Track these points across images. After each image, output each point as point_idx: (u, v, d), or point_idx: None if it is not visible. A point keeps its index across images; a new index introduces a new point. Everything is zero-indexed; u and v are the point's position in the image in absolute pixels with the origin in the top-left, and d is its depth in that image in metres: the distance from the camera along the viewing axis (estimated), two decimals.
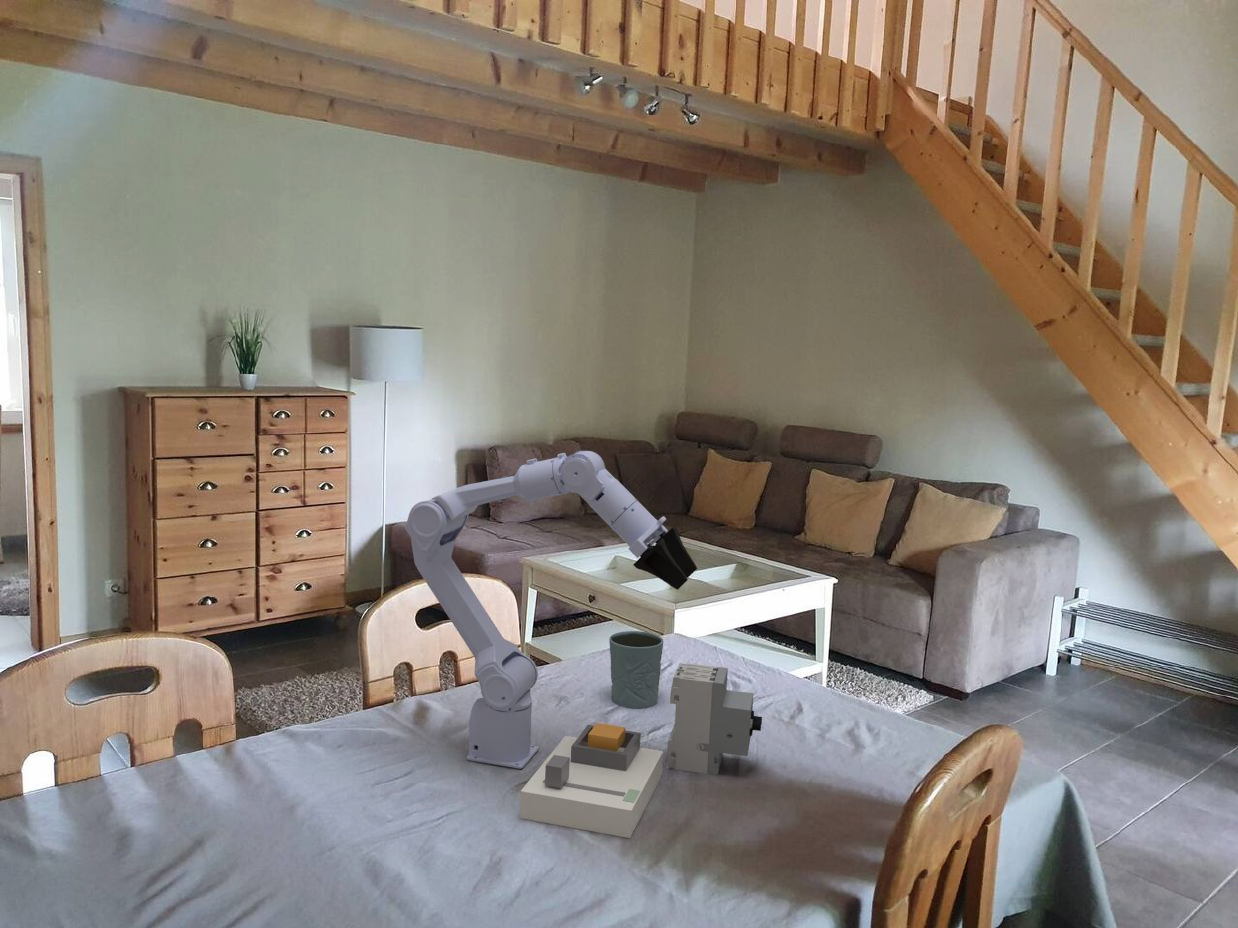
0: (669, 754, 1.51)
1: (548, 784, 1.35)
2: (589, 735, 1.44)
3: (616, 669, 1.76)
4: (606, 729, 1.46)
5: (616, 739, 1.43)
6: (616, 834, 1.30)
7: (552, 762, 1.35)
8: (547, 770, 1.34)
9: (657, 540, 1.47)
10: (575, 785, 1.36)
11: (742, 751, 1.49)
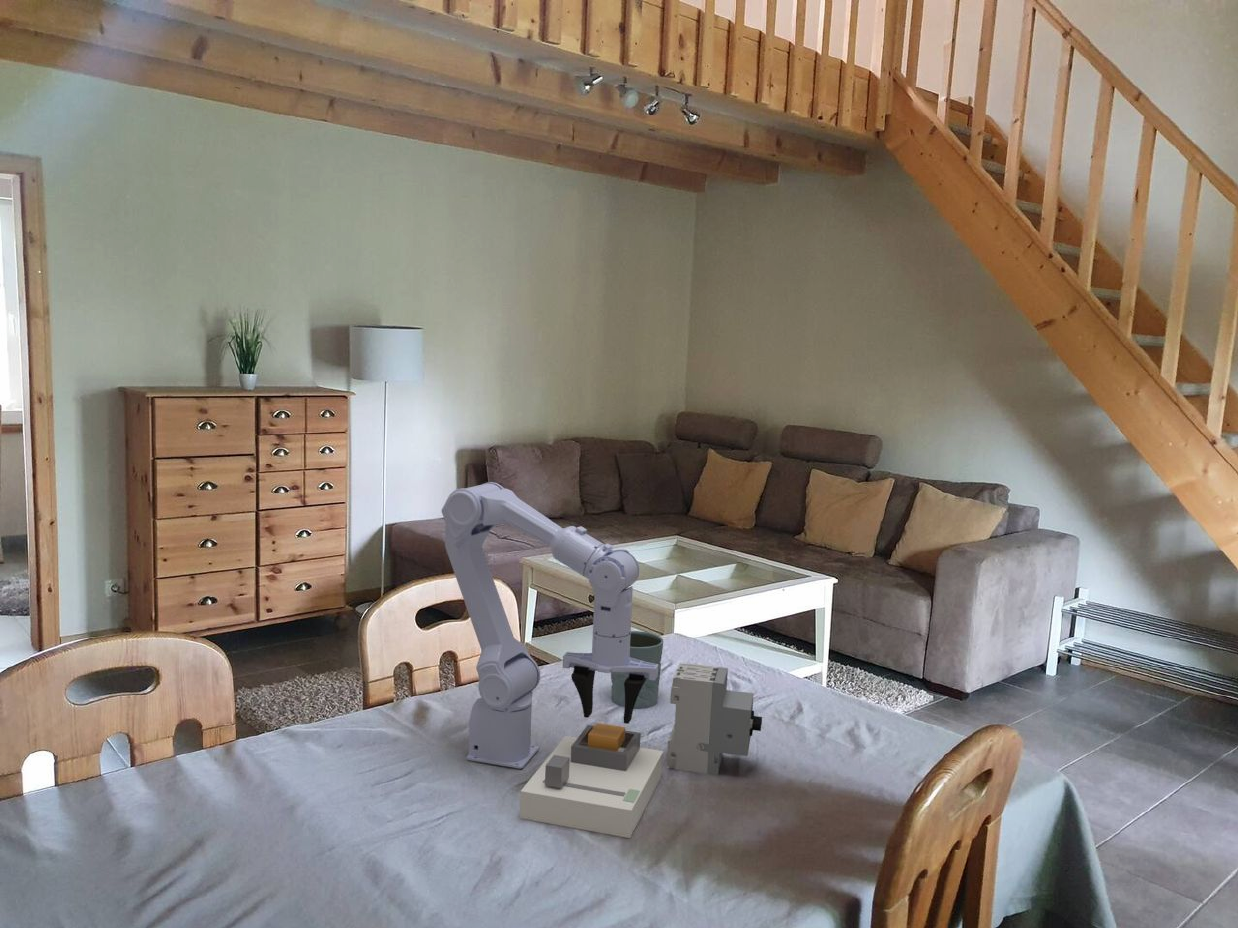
0: (669, 754, 1.51)
1: (548, 784, 1.35)
2: (589, 735, 1.44)
3: None
4: (606, 729, 1.46)
5: (616, 739, 1.43)
6: (616, 834, 1.30)
7: (552, 762, 1.35)
8: (547, 770, 1.34)
9: None
10: (575, 785, 1.36)
11: (742, 751, 1.49)
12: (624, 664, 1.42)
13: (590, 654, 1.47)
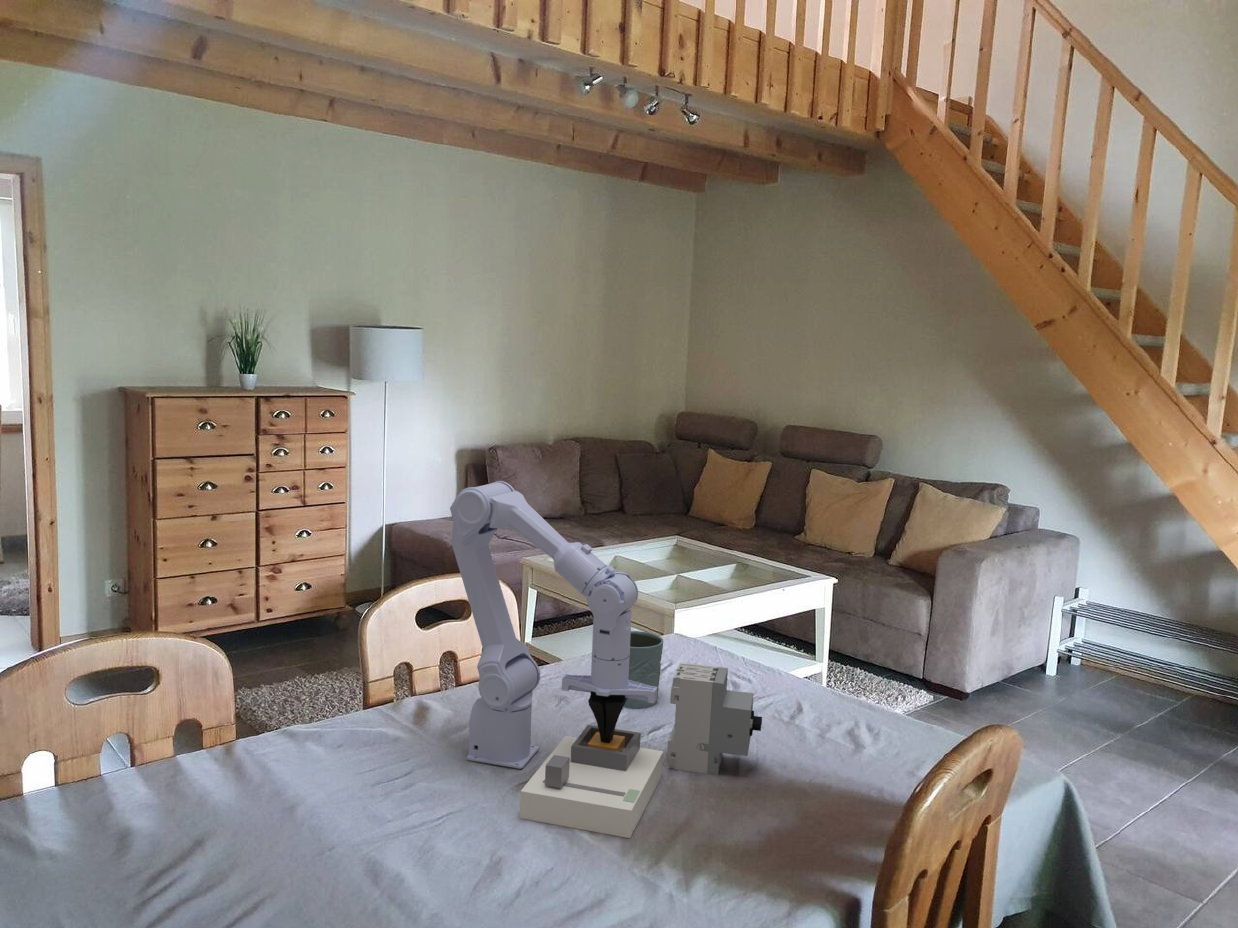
0: (669, 754, 1.51)
1: (548, 784, 1.35)
2: (589, 745, 1.44)
3: None
4: None
5: (616, 749, 1.43)
6: (616, 834, 1.30)
7: (552, 762, 1.35)
8: (547, 770, 1.34)
9: None
10: (575, 785, 1.36)
11: (742, 751, 1.49)
12: (623, 687, 1.43)
13: (589, 676, 1.47)
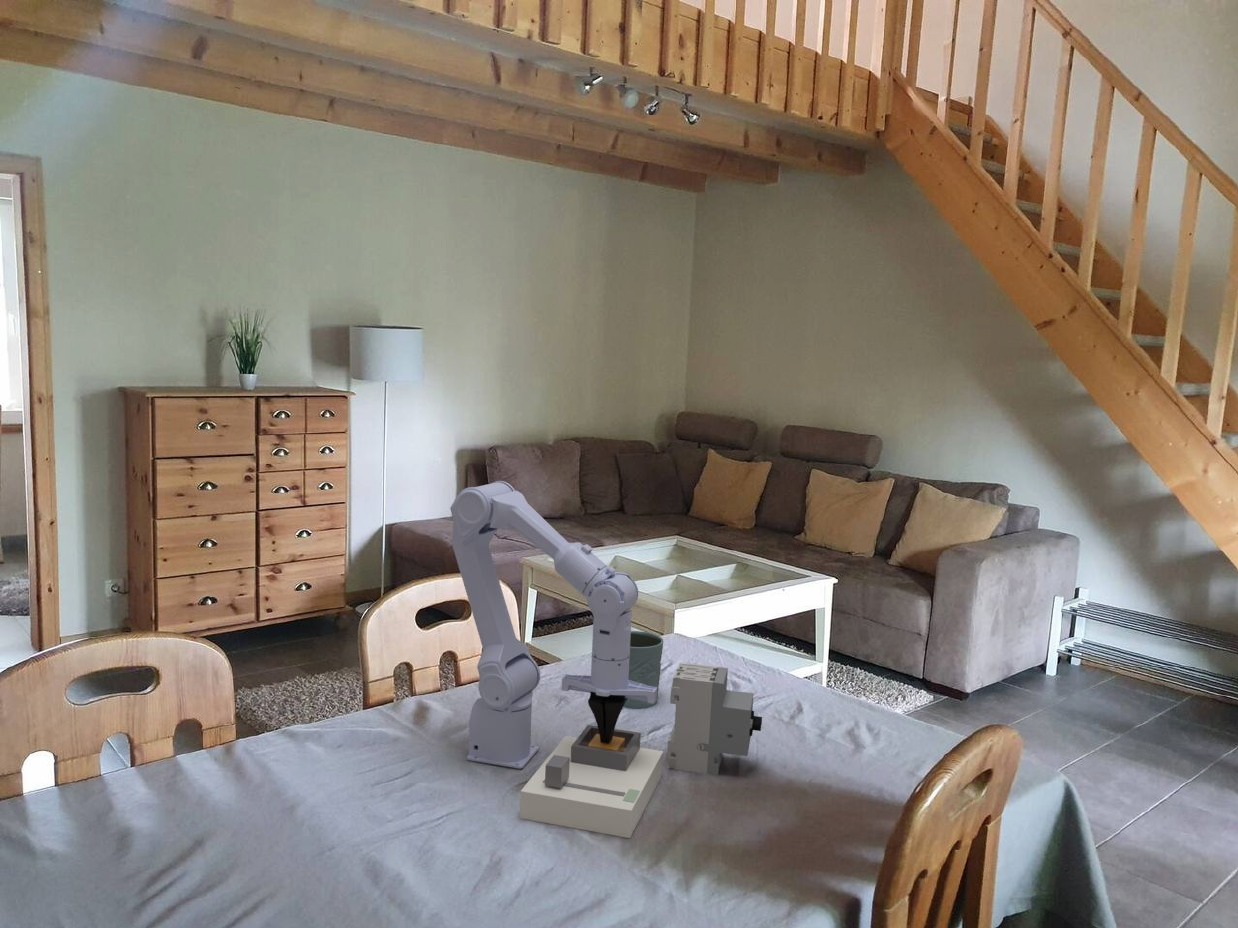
0: (669, 754, 1.51)
1: (548, 784, 1.35)
2: (588, 746, 1.44)
3: None
4: None
5: (615, 750, 1.43)
6: (616, 834, 1.30)
7: (552, 762, 1.35)
8: (547, 770, 1.34)
9: None
10: (575, 785, 1.36)
11: (742, 751, 1.49)
12: (623, 687, 1.43)
13: (589, 676, 1.47)
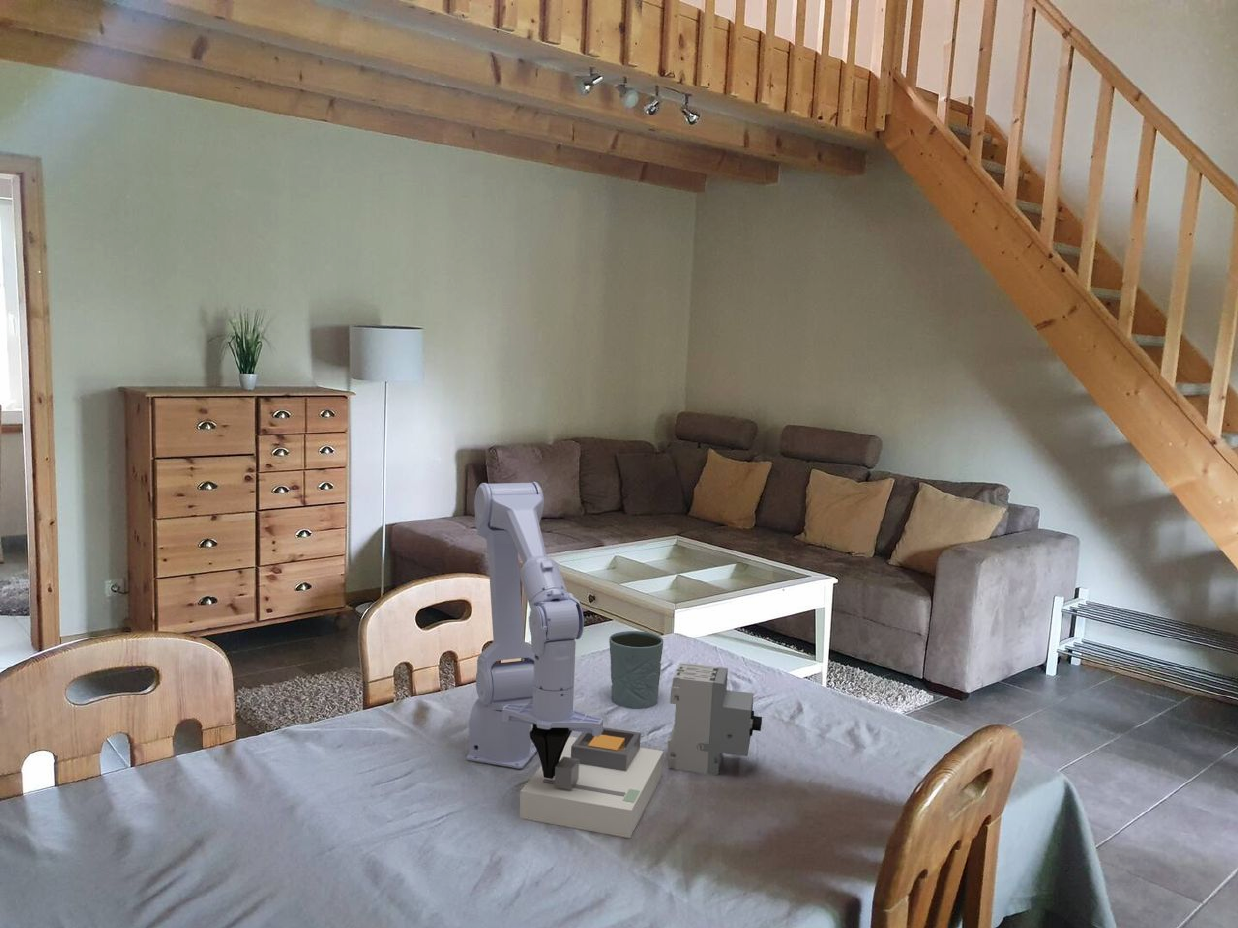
0: (669, 754, 1.51)
1: (558, 786, 1.34)
2: (588, 746, 1.44)
3: (616, 669, 1.76)
4: (606, 740, 1.47)
5: (615, 750, 1.43)
6: (616, 834, 1.30)
7: (562, 763, 1.35)
8: (557, 772, 1.34)
9: None
10: (575, 785, 1.36)
11: (742, 751, 1.49)
12: (566, 719, 1.33)
13: (532, 706, 1.38)
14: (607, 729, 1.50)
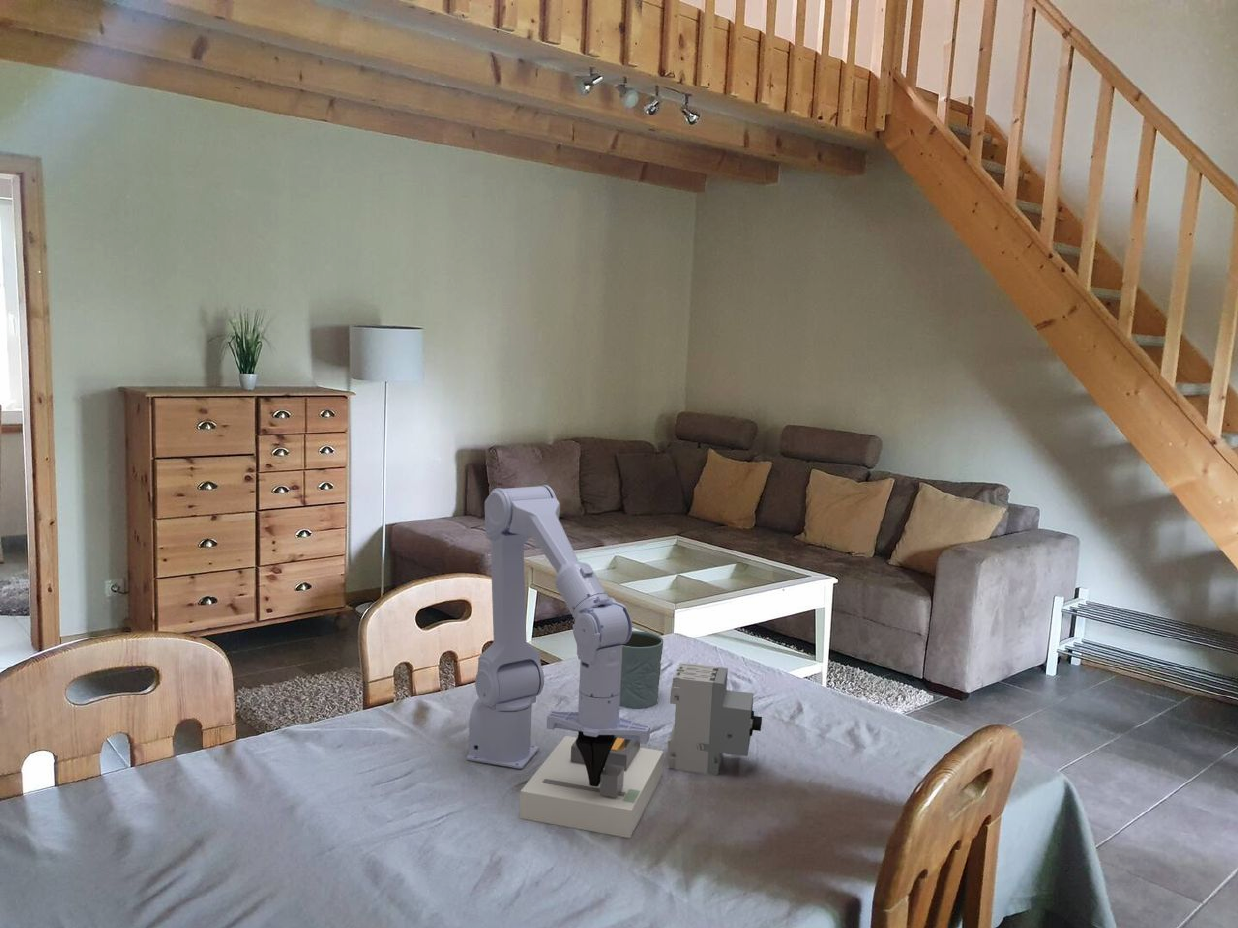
0: (669, 754, 1.51)
1: (603, 793, 1.33)
2: None
3: None
4: None
5: (615, 750, 1.43)
6: (616, 834, 1.30)
7: (607, 771, 1.33)
8: (602, 779, 1.32)
9: None
10: (575, 785, 1.36)
11: (742, 751, 1.49)
12: (613, 726, 1.31)
13: (576, 713, 1.36)
14: None
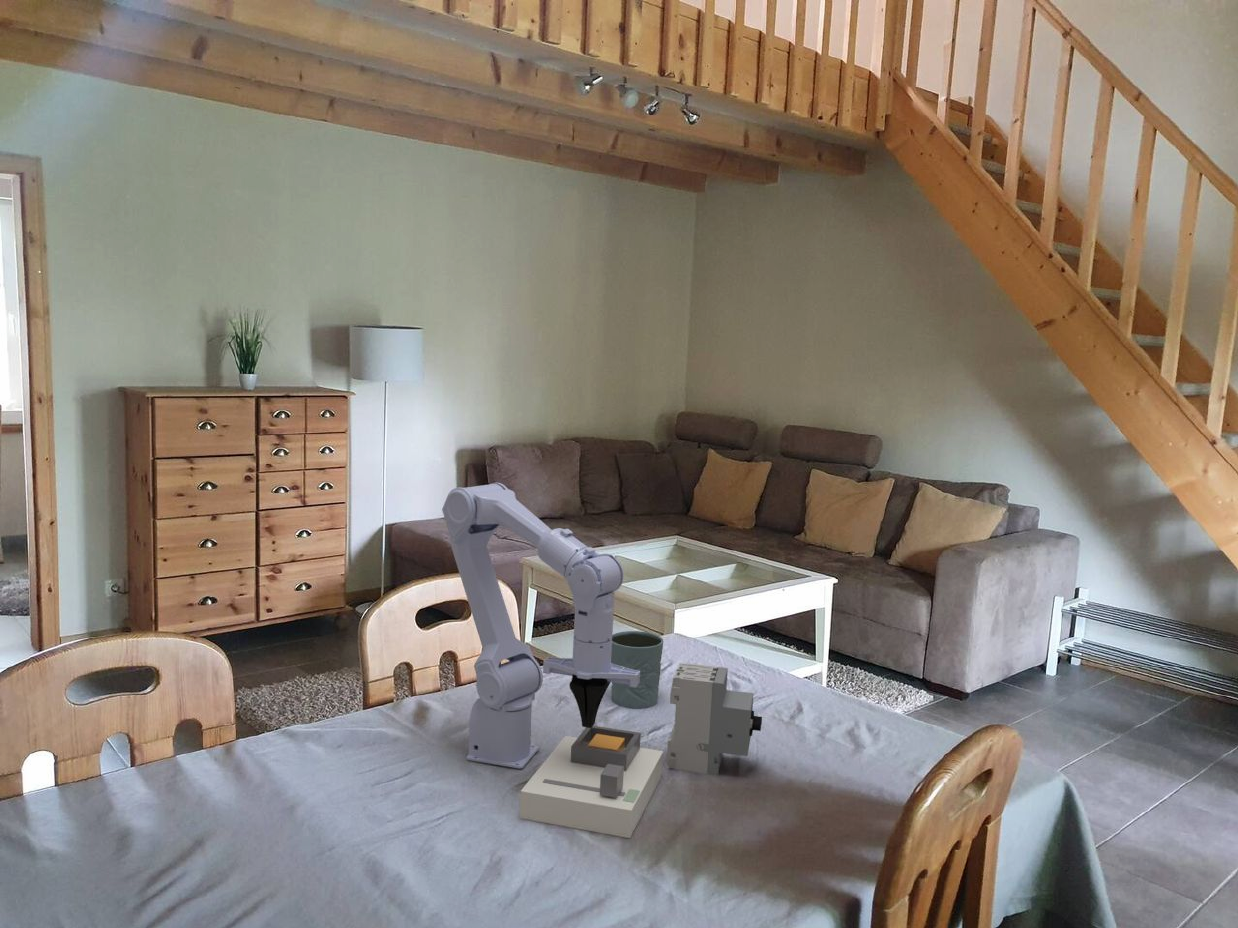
0: (669, 754, 1.51)
1: (603, 793, 1.33)
2: (588, 746, 1.44)
3: None
4: (606, 740, 1.47)
5: (615, 750, 1.43)
6: (616, 834, 1.30)
7: (607, 771, 1.33)
8: (602, 779, 1.32)
9: None
10: (575, 785, 1.36)
11: (742, 751, 1.49)
12: (605, 670, 1.40)
13: (571, 659, 1.44)
14: (607, 729, 1.50)
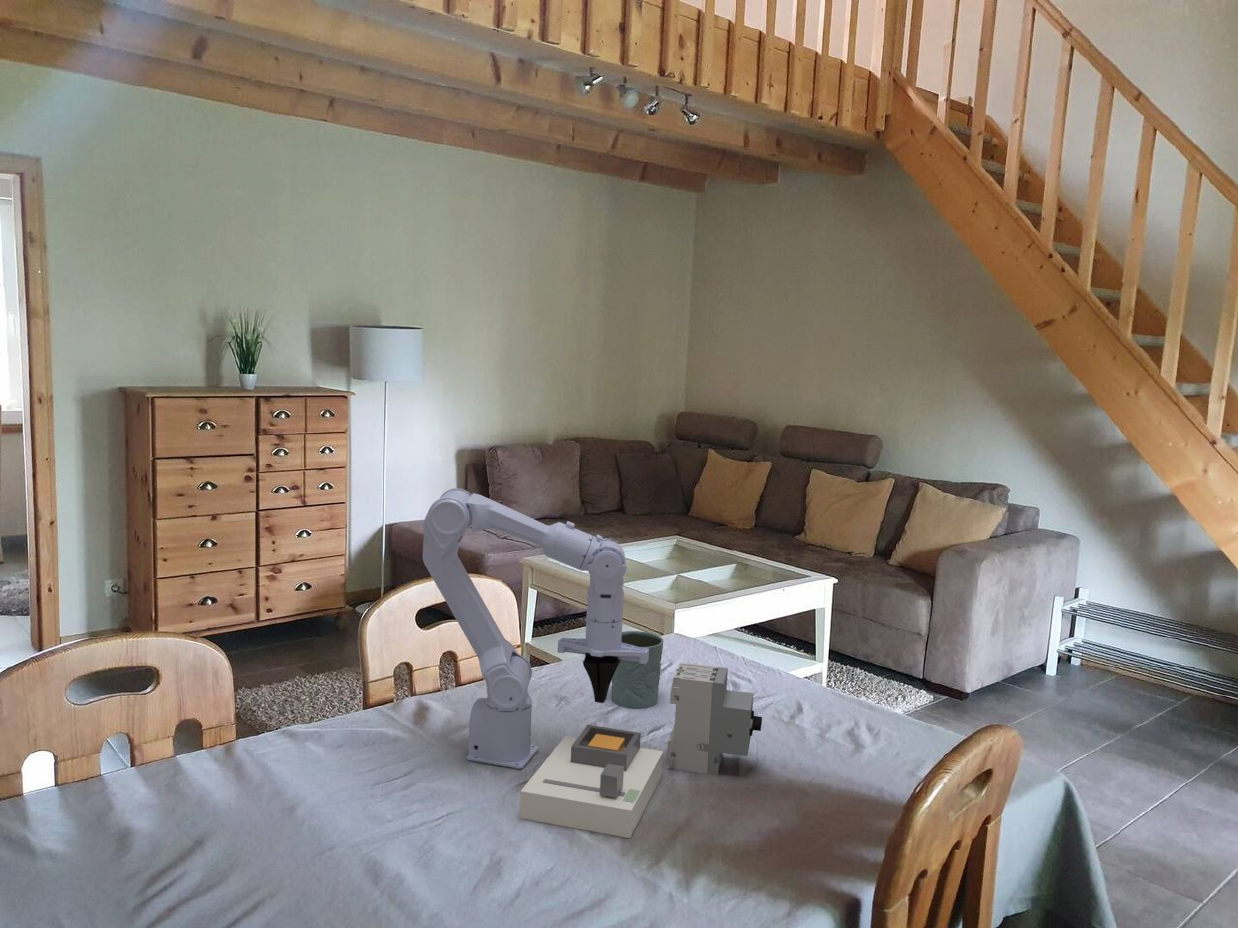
0: (669, 754, 1.51)
1: (603, 793, 1.33)
2: (588, 746, 1.44)
3: (616, 669, 1.76)
4: (606, 740, 1.47)
5: (615, 750, 1.43)
6: (616, 834, 1.30)
7: (607, 771, 1.33)
8: (602, 779, 1.32)
9: None
10: (575, 785, 1.36)
11: (742, 751, 1.49)
12: (616, 648, 1.49)
13: (584, 639, 1.54)
14: (607, 729, 1.50)
